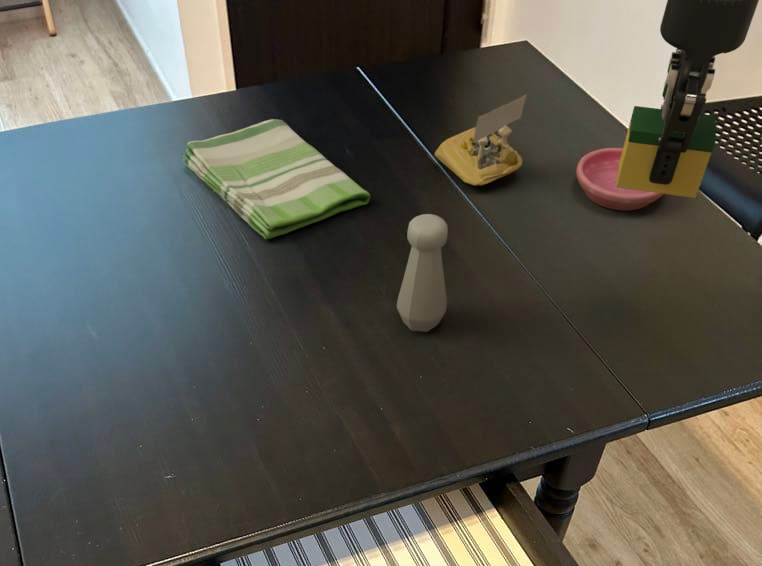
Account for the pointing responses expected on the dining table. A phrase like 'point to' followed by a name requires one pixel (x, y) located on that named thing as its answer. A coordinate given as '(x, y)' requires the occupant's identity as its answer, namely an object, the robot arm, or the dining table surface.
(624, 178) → the sponge
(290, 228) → the dish towel
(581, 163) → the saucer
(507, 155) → the yellow base with figure
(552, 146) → the dining table surface
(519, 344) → the dining table surface
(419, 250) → the salt shaker
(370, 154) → the dining table surface
